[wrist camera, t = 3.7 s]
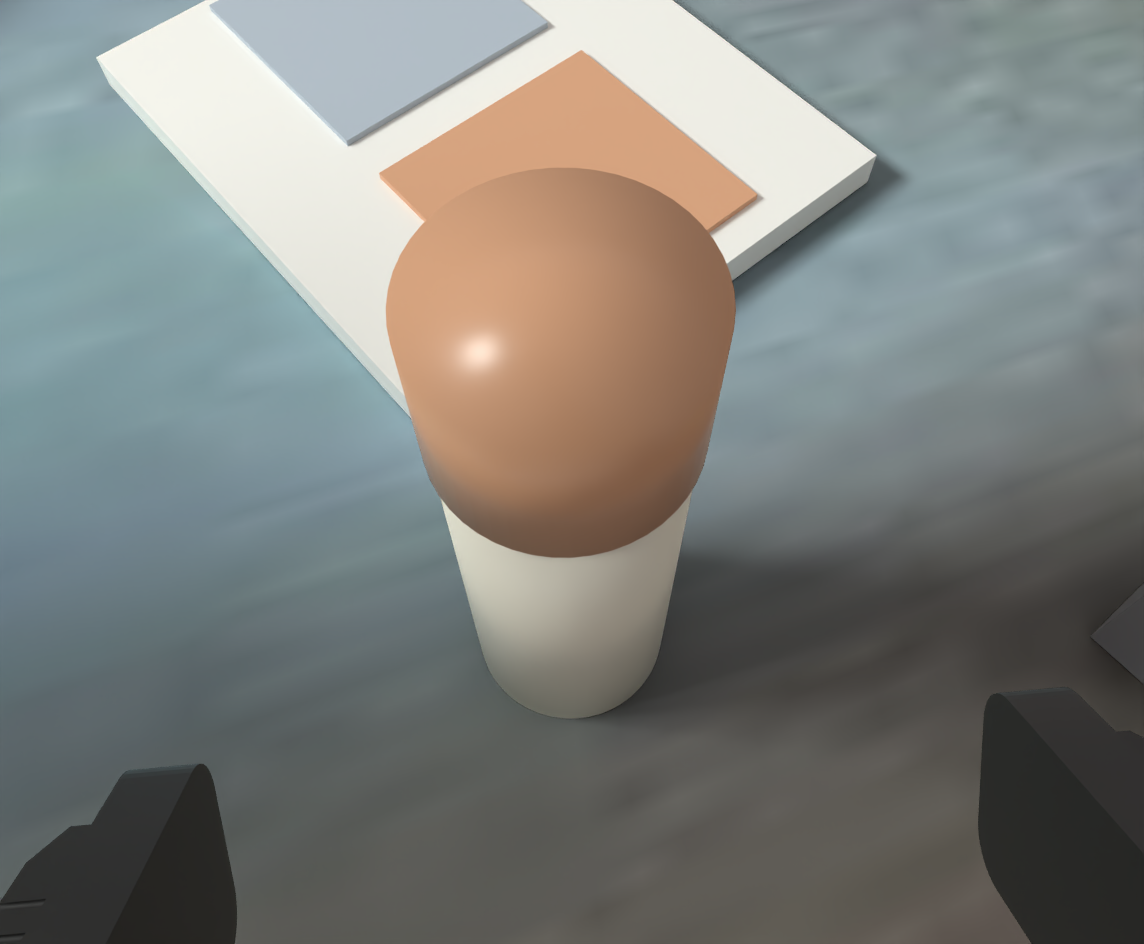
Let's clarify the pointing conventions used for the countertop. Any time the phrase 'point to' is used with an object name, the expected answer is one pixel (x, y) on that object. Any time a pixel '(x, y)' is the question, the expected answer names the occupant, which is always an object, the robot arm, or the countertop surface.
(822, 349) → the countertop surface
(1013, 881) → the robot arm
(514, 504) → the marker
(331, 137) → the picture board
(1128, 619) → the button housing
